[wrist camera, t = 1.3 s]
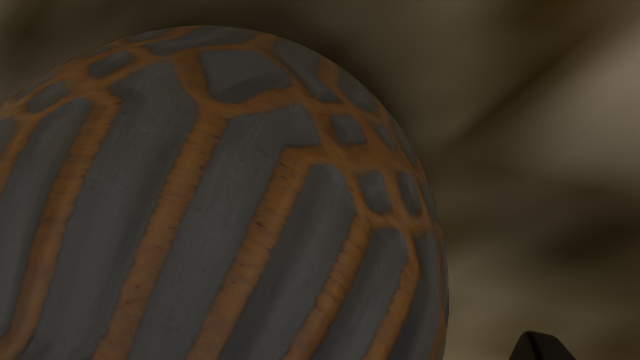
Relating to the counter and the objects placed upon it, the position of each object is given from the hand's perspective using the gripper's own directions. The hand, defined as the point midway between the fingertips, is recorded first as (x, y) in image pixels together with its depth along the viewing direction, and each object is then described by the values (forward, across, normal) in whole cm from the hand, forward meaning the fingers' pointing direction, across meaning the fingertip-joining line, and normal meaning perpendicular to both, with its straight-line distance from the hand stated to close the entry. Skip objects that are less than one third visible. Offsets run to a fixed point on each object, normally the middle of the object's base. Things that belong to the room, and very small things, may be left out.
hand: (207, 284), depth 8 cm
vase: (+4, 0, 0) cm, 4 cm away
